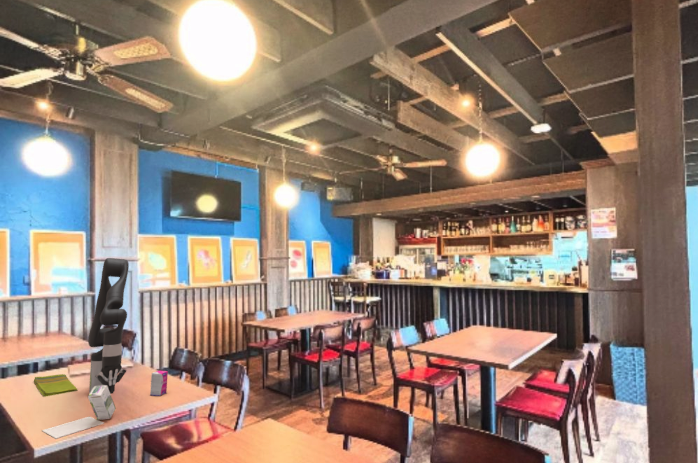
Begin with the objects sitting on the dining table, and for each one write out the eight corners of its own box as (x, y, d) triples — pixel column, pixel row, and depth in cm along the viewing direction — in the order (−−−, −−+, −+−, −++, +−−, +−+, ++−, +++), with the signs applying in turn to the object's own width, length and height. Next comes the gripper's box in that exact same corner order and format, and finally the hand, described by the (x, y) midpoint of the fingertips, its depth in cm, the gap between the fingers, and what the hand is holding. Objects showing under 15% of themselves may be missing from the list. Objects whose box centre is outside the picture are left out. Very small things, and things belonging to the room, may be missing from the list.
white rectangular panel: (41, 431, 166) (41, 430, 166) (89, 417, 181) (89, 416, 181) (55, 438, 159) (55, 438, 159) (104, 423, 174) (104, 422, 174)
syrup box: (103, 409, 183) (93, 385, 176) (116, 408, 183) (107, 384, 177) (97, 420, 177) (86, 396, 171) (110, 419, 178) (100, 394, 171)
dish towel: (65, 377, 243) (65, 372, 243) (78, 391, 217) (78, 385, 217) (33, 382, 232) (33, 377, 232) (42, 398, 206) (43, 391, 207)
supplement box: (159, 396, 209) (160, 373, 209) (149, 395, 210) (150, 373, 211) (167, 393, 214) (168, 370, 215) (157, 392, 215) (158, 370, 216)
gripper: (122, 350, 190) (120, 388, 189) (92, 355, 179) (90, 396, 178) (131, 352, 186) (129, 391, 185) (100, 357, 175) (99, 399, 174)
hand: (110, 393), depth 181 cm, fingers closed
